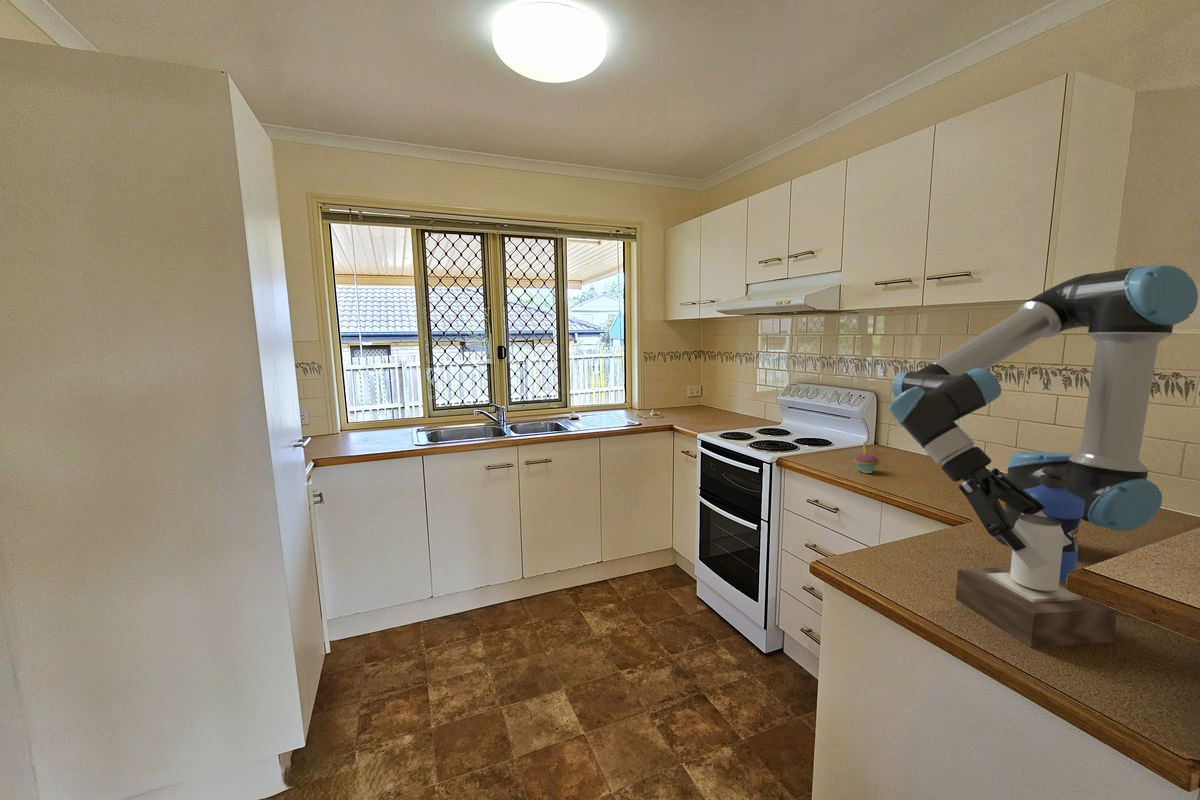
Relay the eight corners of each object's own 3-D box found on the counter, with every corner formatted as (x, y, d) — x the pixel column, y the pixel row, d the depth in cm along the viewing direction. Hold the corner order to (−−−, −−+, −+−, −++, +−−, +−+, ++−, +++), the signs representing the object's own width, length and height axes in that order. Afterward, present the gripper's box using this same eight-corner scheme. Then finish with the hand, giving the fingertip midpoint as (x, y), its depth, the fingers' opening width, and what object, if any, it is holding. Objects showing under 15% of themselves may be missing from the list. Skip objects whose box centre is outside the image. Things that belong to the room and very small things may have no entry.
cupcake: (848, 469, 185) (849, 439, 183) (868, 468, 186) (870, 439, 184) (862, 475, 176) (864, 444, 175) (883, 474, 177) (885, 443, 176)
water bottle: (1012, 584, 97) (1024, 467, 94) (1013, 568, 104) (1024, 458, 101) (1076, 600, 91) (1091, 475, 88) (1073, 582, 98) (1086, 465, 95)
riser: (1026, 594, 94) (1029, 563, 93) (1113, 641, 79) (1118, 604, 78) (955, 598, 92) (958, 566, 92) (1030, 647, 78) (1034, 610, 77)
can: (1009, 572, 89) (1015, 511, 88) (1057, 582, 85) (1063, 518, 84) (1009, 584, 85) (1015, 520, 83) (1059, 596, 80) (1066, 529, 79)
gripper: (966, 457, 102) (1052, 547, 91) (912, 476, 88) (1006, 584, 78) (998, 436, 97) (1094, 529, 86) (947, 454, 83) (1052, 566, 73)
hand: (1052, 556), depth 82 cm, fingers open, 13 cm apart
